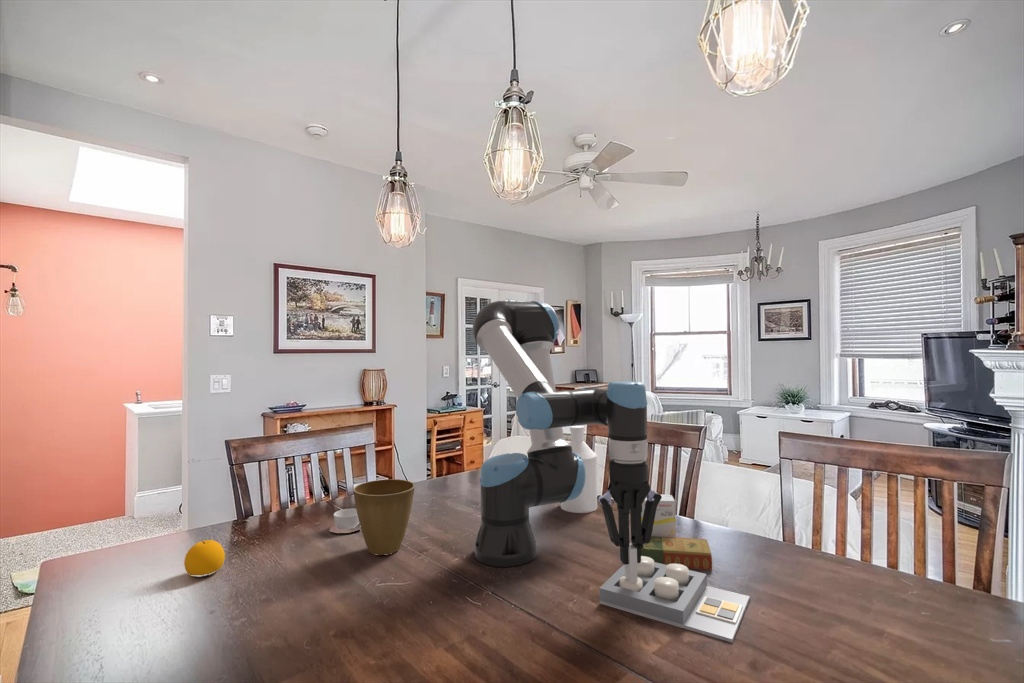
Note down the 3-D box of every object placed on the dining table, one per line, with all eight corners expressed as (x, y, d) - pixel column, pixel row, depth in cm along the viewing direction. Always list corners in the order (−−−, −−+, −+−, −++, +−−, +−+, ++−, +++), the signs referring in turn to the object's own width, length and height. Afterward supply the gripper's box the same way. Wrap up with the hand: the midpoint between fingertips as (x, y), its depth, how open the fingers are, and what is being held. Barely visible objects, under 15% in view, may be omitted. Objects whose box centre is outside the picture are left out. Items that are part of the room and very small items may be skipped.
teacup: (373, 526, 142) (373, 510, 142) (345, 538, 134) (345, 520, 134) (349, 521, 147) (349, 505, 148) (320, 532, 139) (320, 515, 139)
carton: (712, 572, 110) (712, 552, 110) (637, 565, 114) (637, 547, 114) (707, 556, 118) (707, 538, 118) (638, 550, 122) (637, 533, 122)
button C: (651, 597, 94) (650, 583, 94) (658, 588, 98) (658, 574, 98) (674, 604, 92) (674, 589, 92) (681, 594, 95) (681, 580, 95)
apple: (230, 573, 114) (229, 540, 114) (190, 585, 108) (189, 550, 108) (218, 563, 119) (218, 531, 119) (180, 574, 113) (179, 541, 113)
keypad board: (599, 603, 97) (599, 588, 97) (631, 570, 111) (631, 556, 111) (732, 642, 83) (731, 624, 83) (749, 599, 97) (749, 583, 97)
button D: (662, 582, 100) (662, 569, 100) (669, 574, 103) (669, 561, 103) (685, 588, 97) (685, 575, 97) (691, 579, 101) (691, 566, 101)
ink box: (641, 547, 123) (640, 499, 124) (638, 539, 128) (637, 493, 128) (677, 548, 122) (675, 500, 123) (673, 540, 127) (671, 494, 127)
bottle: (556, 502, 161) (554, 424, 161) (592, 500, 162) (590, 423, 162) (564, 514, 149) (562, 430, 149) (602, 512, 150) (601, 429, 151)
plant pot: (370, 568, 114) (369, 498, 115) (344, 549, 126) (343, 486, 126) (427, 550, 124) (425, 486, 124) (397, 534, 135) (396, 475, 136)
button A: (616, 595, 98) (616, 582, 98) (624, 586, 102) (624, 573, 102) (638, 601, 95) (637, 587, 95) (645, 591, 99) (645, 578, 99)
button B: (629, 574, 104) (629, 561, 104) (637, 566, 107) (636, 554, 107) (650, 579, 101) (649, 566, 101) (657, 571, 105) (656, 559, 105)
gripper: (604, 466, 94) (606, 592, 94) (668, 461, 96) (671, 584, 96) (590, 457, 101) (593, 574, 101) (650, 453, 104) (653, 567, 103)
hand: (631, 579), depth 98 cm, fingers closed
